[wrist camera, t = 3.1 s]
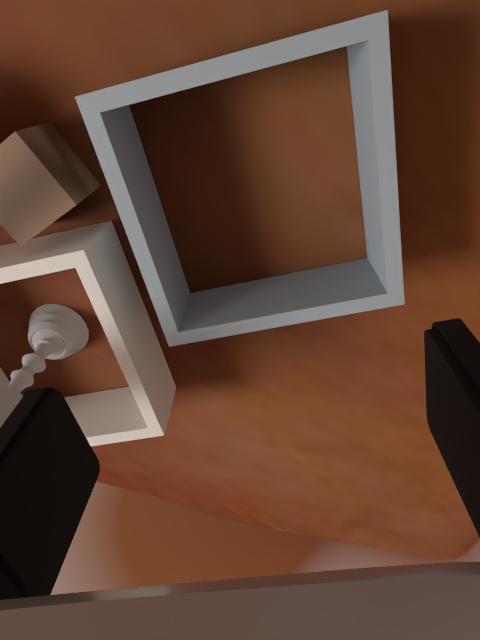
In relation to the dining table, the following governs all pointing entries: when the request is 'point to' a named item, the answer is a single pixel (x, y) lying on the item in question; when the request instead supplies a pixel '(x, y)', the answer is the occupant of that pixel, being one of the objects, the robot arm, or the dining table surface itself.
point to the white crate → (105, 330)
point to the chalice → (44, 349)
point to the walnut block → (39, 180)
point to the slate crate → (284, 290)
